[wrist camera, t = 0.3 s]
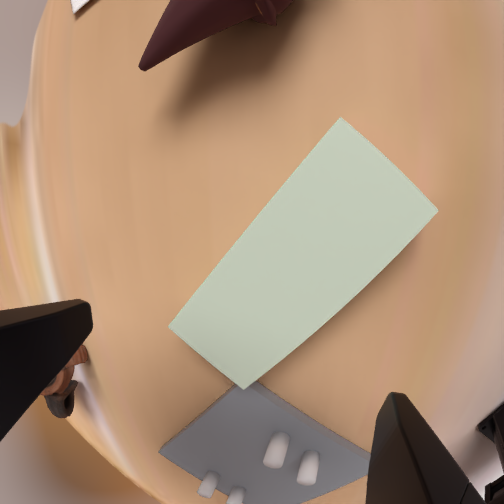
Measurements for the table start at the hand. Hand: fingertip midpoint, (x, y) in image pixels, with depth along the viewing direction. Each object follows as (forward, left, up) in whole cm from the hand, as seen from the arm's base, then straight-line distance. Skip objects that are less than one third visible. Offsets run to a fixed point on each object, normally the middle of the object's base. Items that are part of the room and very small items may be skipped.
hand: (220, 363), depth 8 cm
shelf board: (-1, +1, -13) cm, 13 cm away
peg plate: (-12, +20, -13) cm, 26 cm away
